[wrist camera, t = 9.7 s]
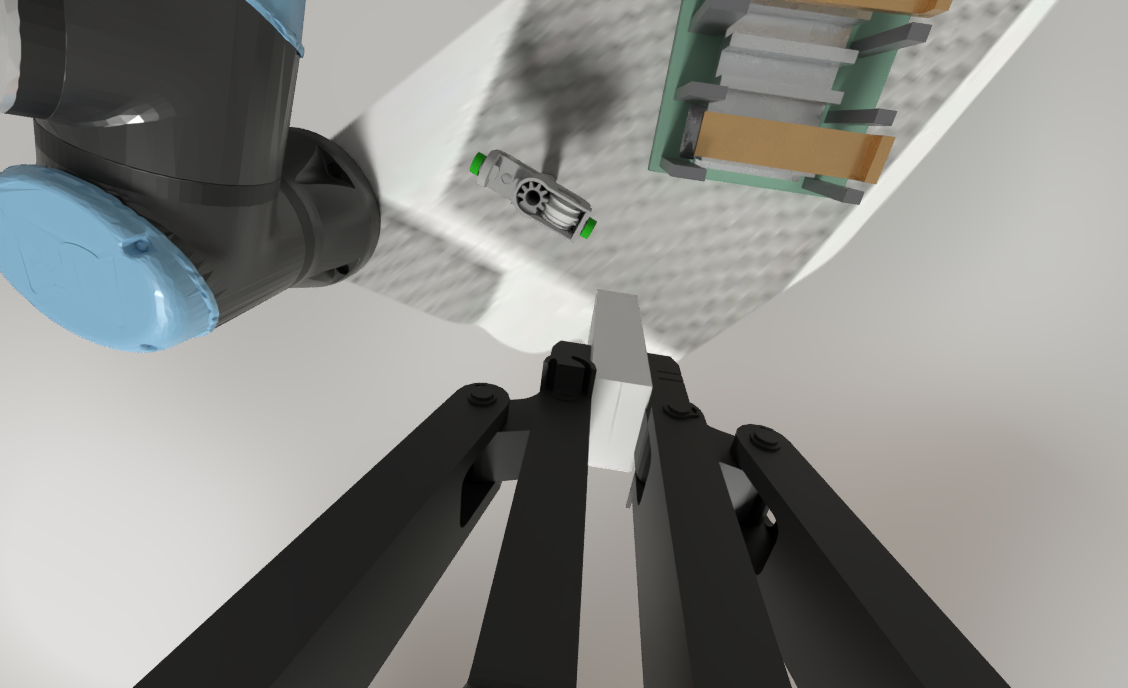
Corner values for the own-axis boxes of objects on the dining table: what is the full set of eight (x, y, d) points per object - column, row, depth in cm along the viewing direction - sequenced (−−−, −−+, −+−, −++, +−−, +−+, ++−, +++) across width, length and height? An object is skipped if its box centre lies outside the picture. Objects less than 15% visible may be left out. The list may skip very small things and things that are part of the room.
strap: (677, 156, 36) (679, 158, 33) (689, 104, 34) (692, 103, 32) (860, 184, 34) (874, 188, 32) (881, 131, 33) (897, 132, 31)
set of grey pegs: (659, 166, 41) (671, 177, 33) (708, -67, 34) (737, -122, 26) (814, 189, 40) (862, 205, 33) (897, -40, 33) (983, -88, 26)
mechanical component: (506, 139, 42) (479, 143, 33) (602, 196, 44) (601, 215, 35) (493, 169, 43) (463, 181, 34) (586, 224, 45) (581, 249, 36)
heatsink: (690, 164, 40) (699, 168, 37) (742, -52, 34) (758, -73, 30) (793, 179, 40) (811, 185, 37) (865, -35, 34) (895, -53, 30)
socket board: (647, 169, 42) (649, 170, 41) (695, -69, 35) (699, -76, 33) (832, 196, 42) (839, 199, 41) (920, -37, 34) (933, -44, 33)
